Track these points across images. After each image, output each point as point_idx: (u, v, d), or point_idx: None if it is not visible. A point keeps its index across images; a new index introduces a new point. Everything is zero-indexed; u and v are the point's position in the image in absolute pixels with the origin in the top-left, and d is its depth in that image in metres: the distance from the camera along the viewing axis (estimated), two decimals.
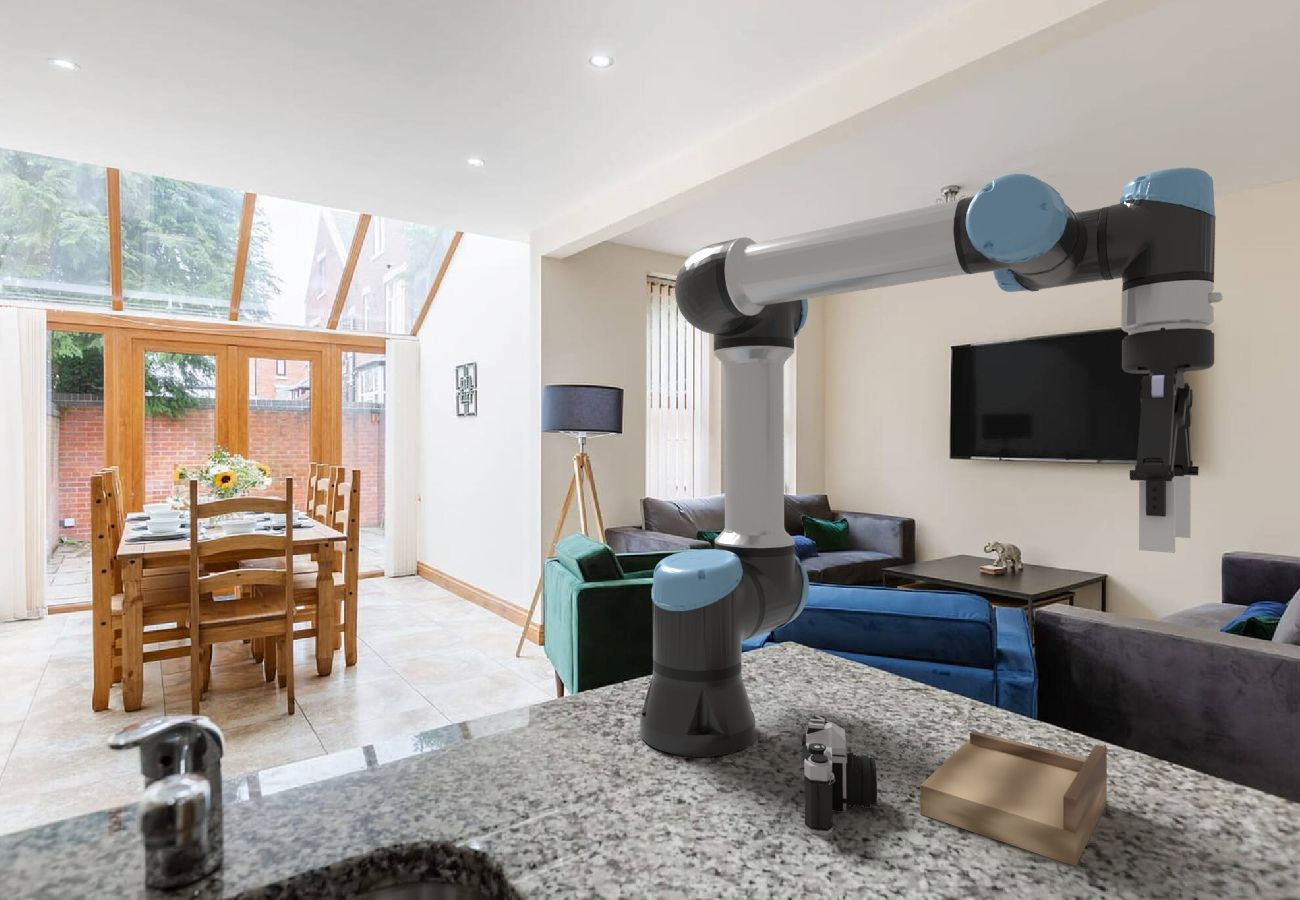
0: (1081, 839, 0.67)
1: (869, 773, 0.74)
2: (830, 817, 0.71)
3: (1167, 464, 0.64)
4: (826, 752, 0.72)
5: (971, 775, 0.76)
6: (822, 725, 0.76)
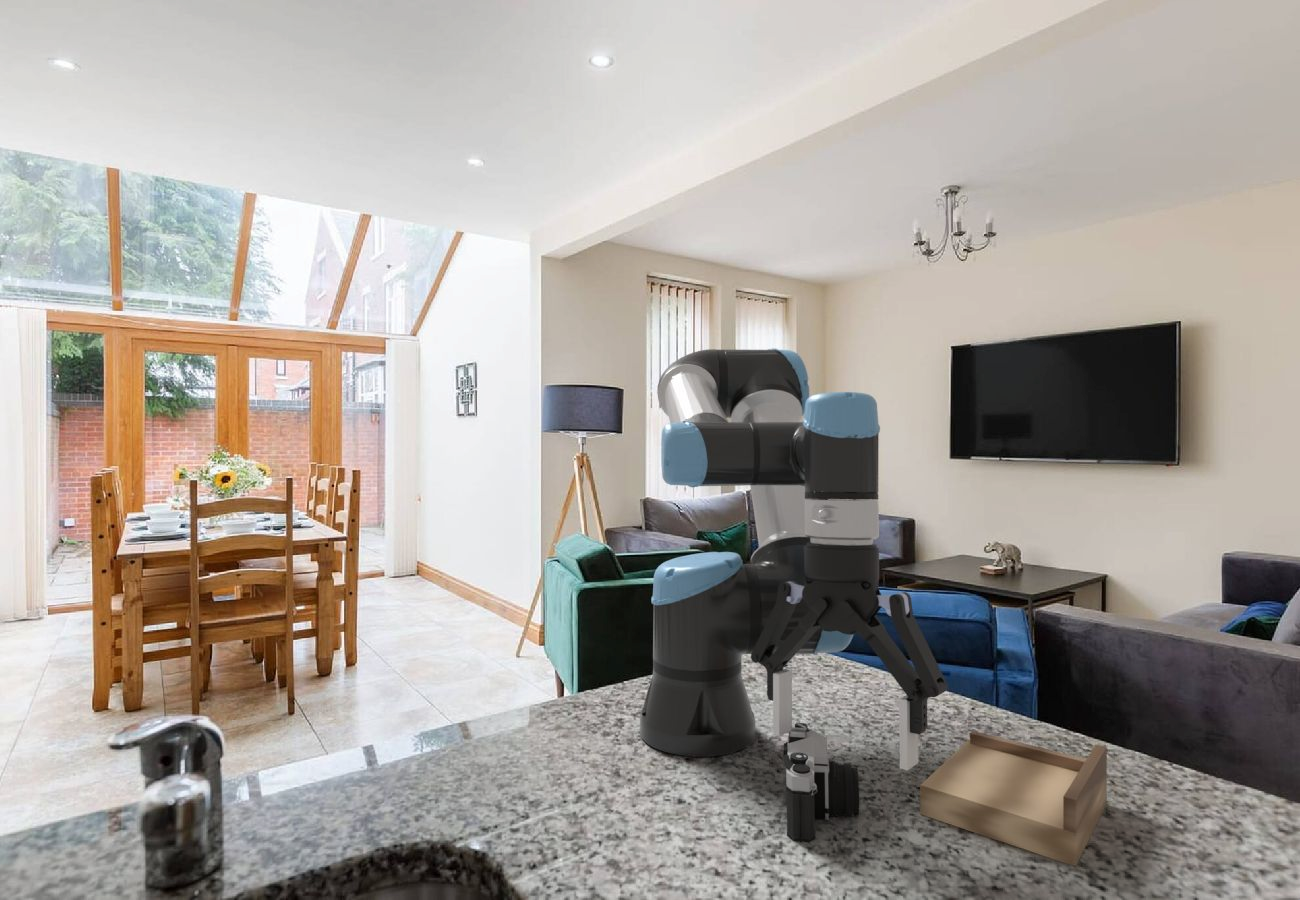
0: (1081, 839, 0.67)
1: (851, 782, 0.73)
2: (812, 828, 0.69)
3: (752, 653, 0.80)
4: (808, 762, 0.71)
5: (971, 775, 0.76)
6: (804, 734, 0.75)
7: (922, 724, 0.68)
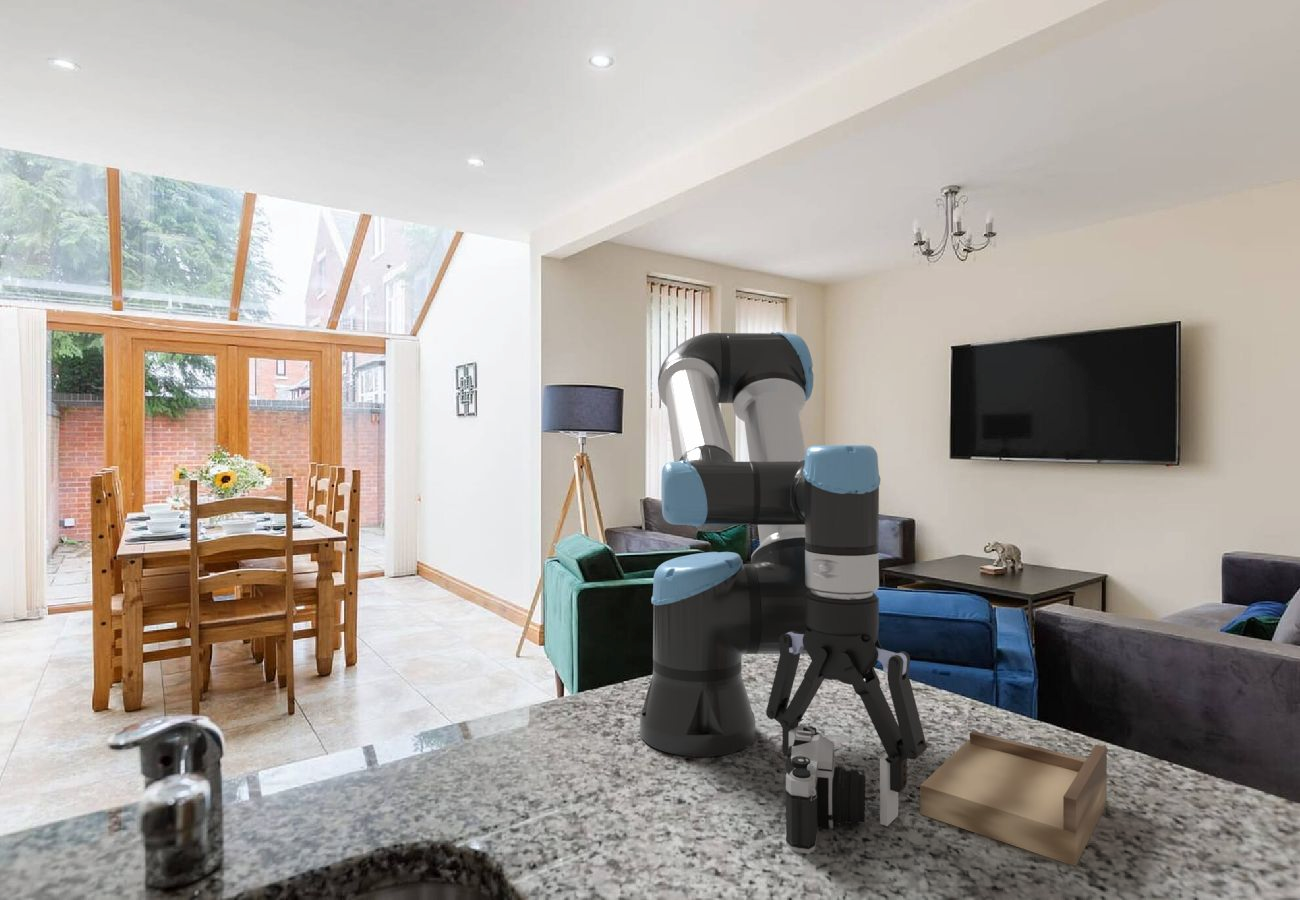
0: (1081, 839, 0.67)
1: (857, 789, 0.71)
2: (812, 835, 0.68)
3: (766, 710, 0.81)
4: (809, 766, 0.69)
5: (971, 775, 0.76)
6: (808, 737, 0.73)
7: (902, 783, 0.71)
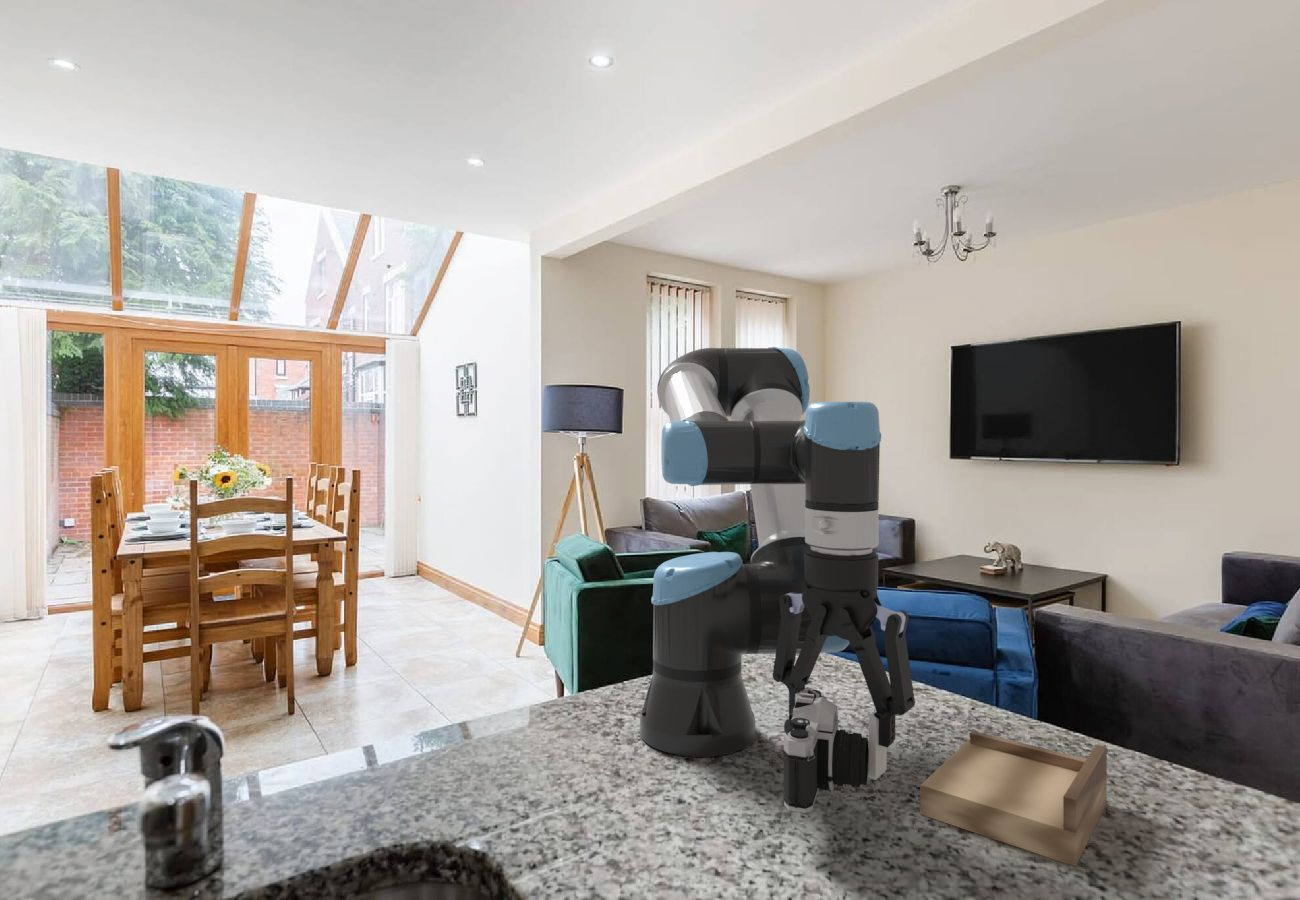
0: (1081, 839, 0.67)
1: (857, 752, 0.70)
2: (809, 795, 0.67)
3: (773, 673, 0.81)
4: (808, 727, 0.69)
5: (971, 775, 0.76)
6: (810, 700, 0.73)
7: (890, 738, 0.72)
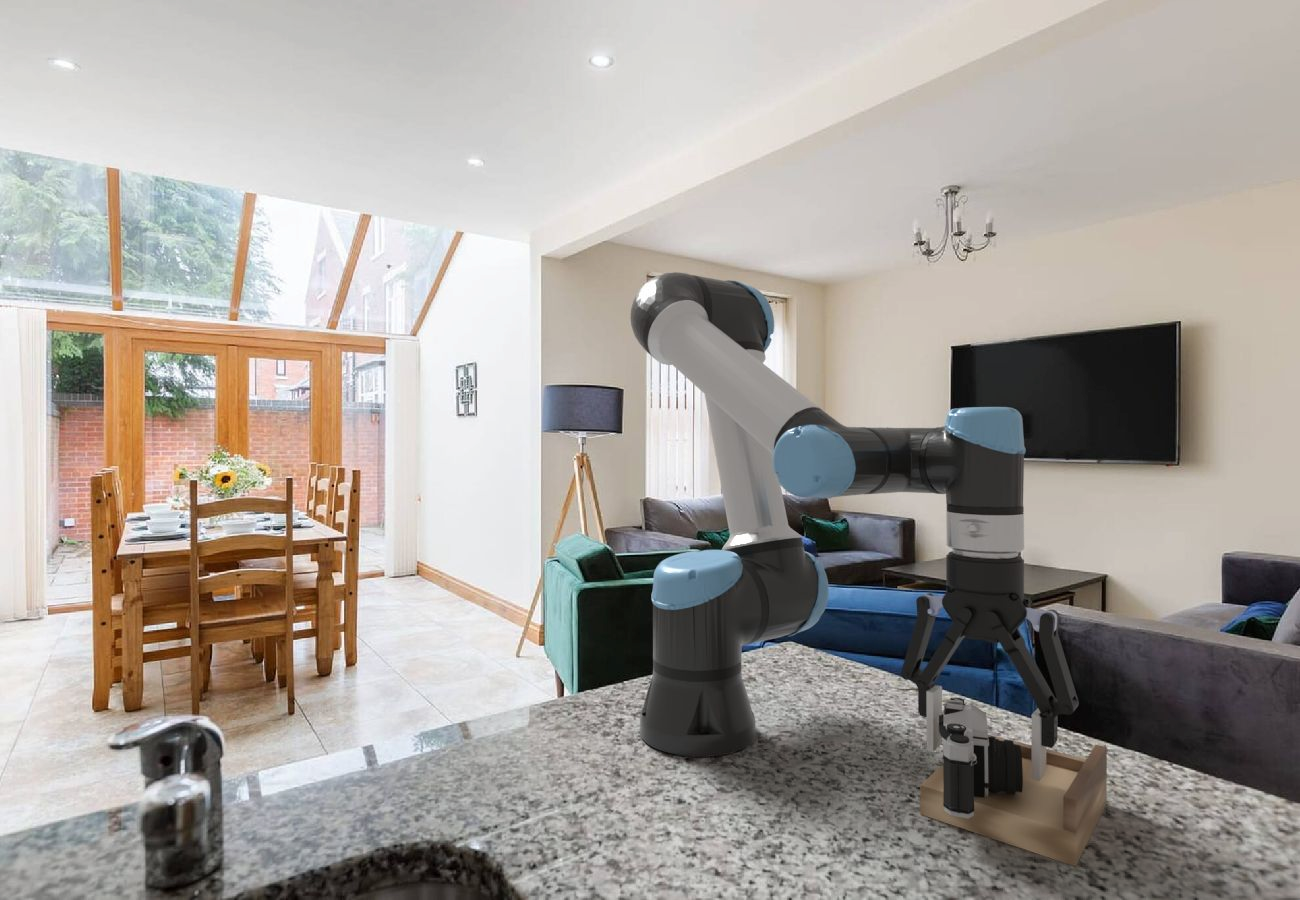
0: (1081, 839, 0.67)
1: (1014, 758, 0.70)
2: (971, 800, 0.68)
3: (901, 671, 0.82)
4: (967, 732, 0.69)
5: None
6: (961, 706, 0.73)
7: (1054, 738, 0.72)
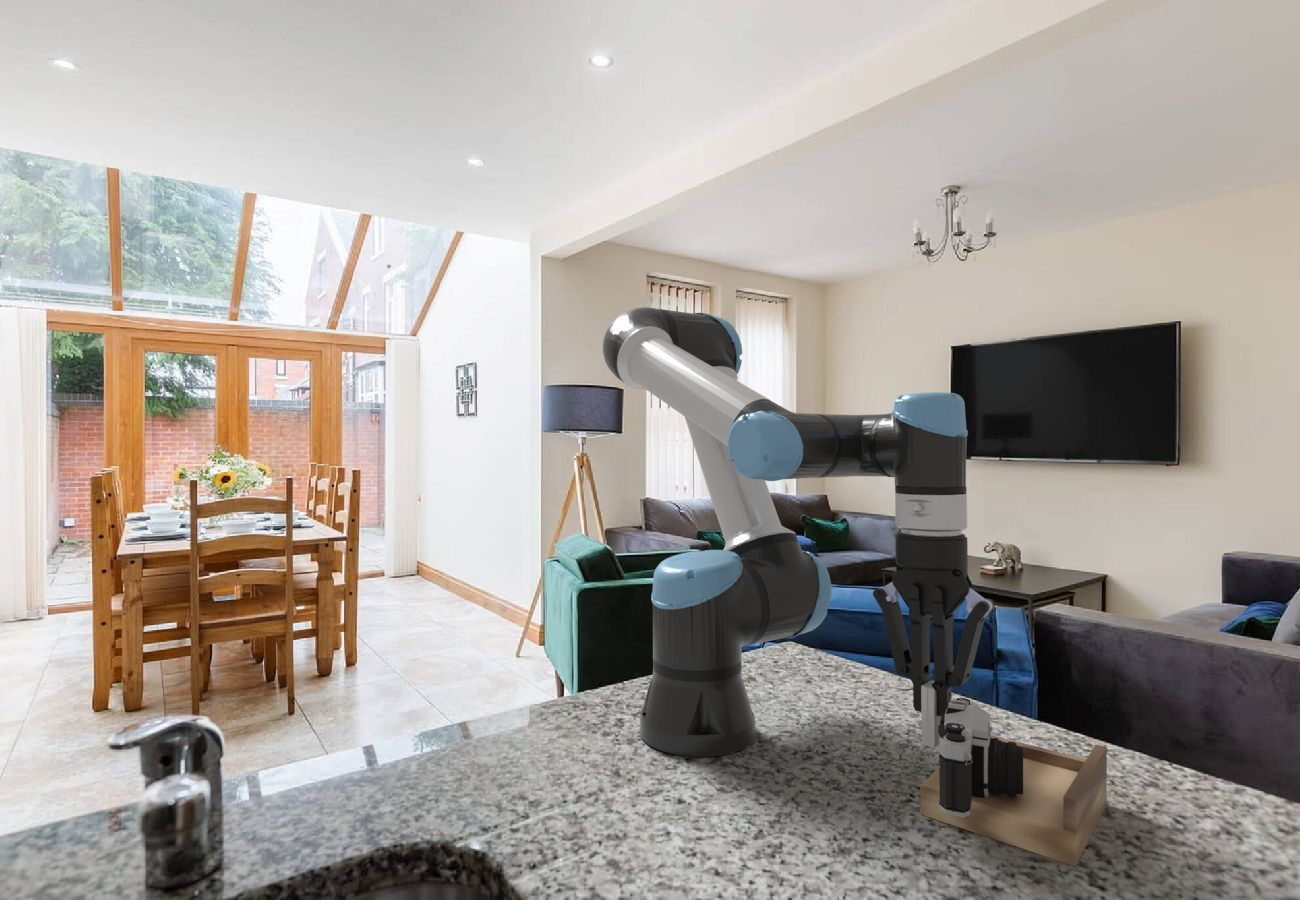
0: (1081, 839, 0.67)
1: (1014, 760, 0.70)
2: (967, 799, 0.68)
3: (896, 669, 0.82)
4: (964, 732, 0.69)
5: None
6: (963, 706, 0.73)
7: None
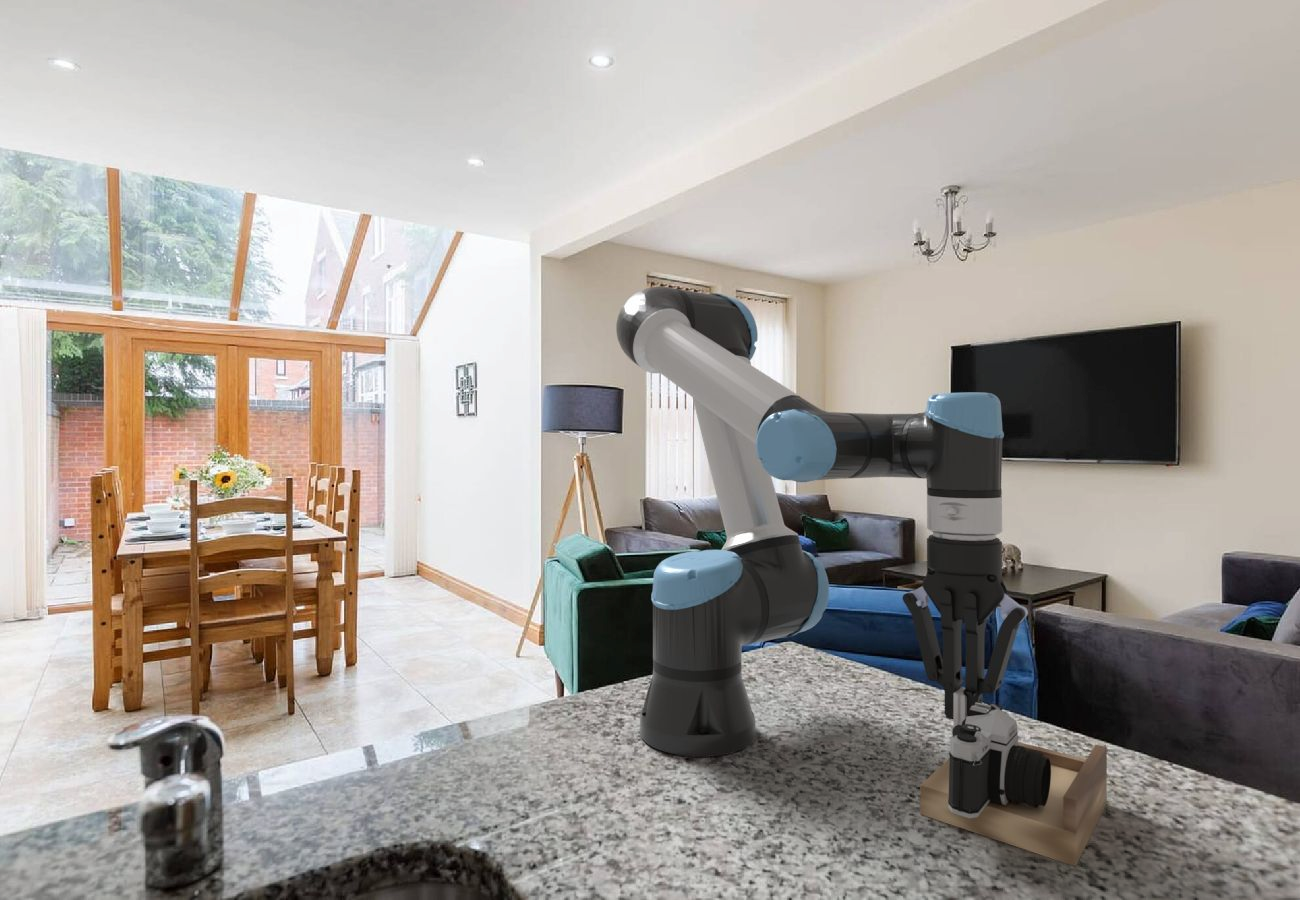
0: (1081, 839, 0.67)
1: (1033, 769, 0.68)
2: (975, 801, 0.67)
3: None
4: (977, 733, 0.68)
5: None
6: (985, 709, 0.72)
7: None
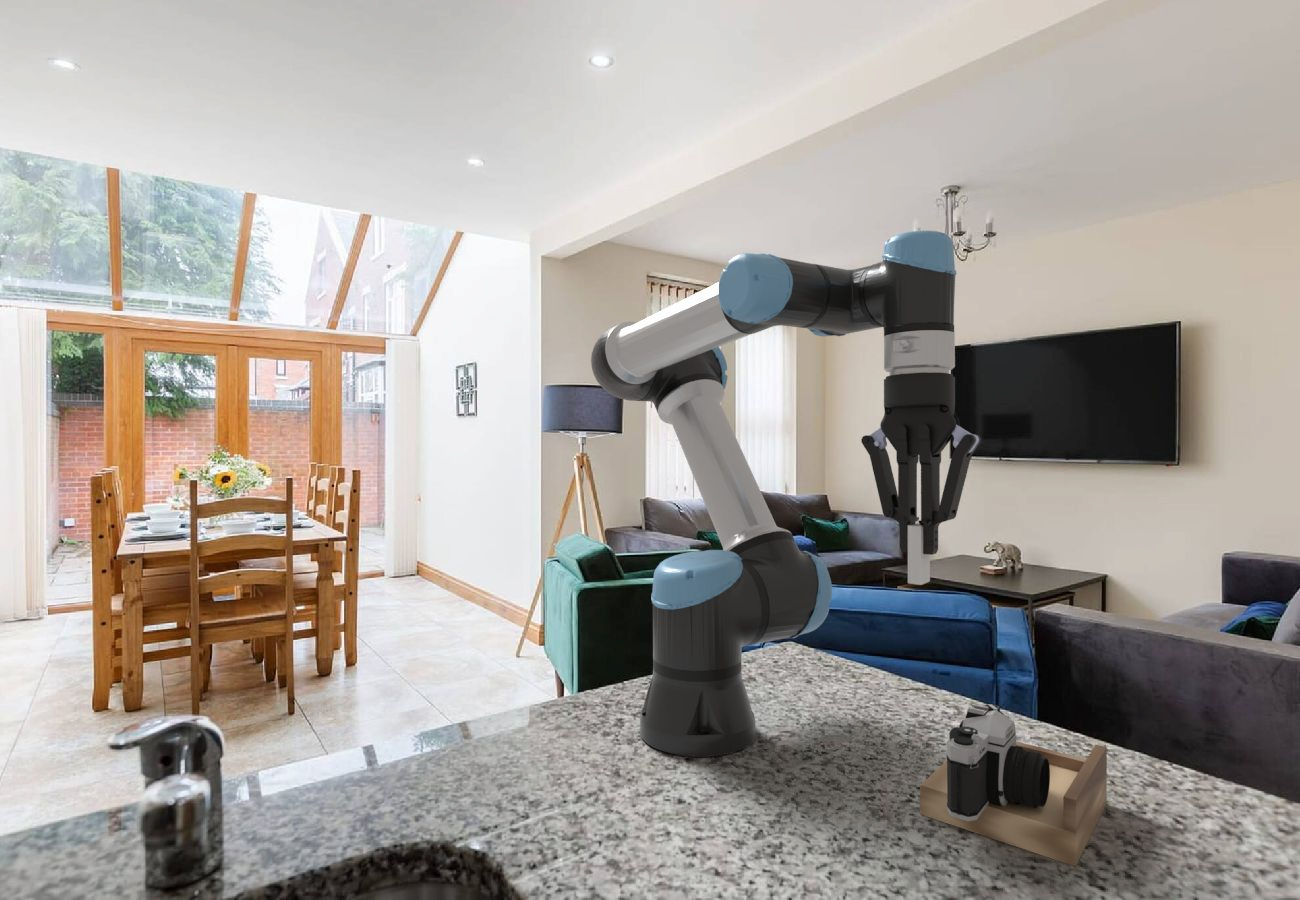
0: (1081, 839, 0.67)
1: (1031, 769, 0.68)
2: (973, 804, 0.67)
3: (883, 512, 0.83)
4: (974, 736, 0.68)
5: None
6: (982, 711, 0.72)
7: (934, 546, 0.80)
